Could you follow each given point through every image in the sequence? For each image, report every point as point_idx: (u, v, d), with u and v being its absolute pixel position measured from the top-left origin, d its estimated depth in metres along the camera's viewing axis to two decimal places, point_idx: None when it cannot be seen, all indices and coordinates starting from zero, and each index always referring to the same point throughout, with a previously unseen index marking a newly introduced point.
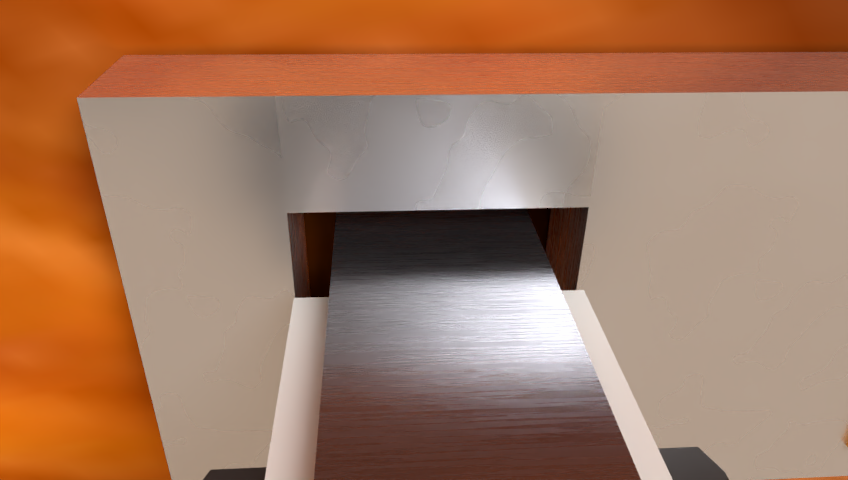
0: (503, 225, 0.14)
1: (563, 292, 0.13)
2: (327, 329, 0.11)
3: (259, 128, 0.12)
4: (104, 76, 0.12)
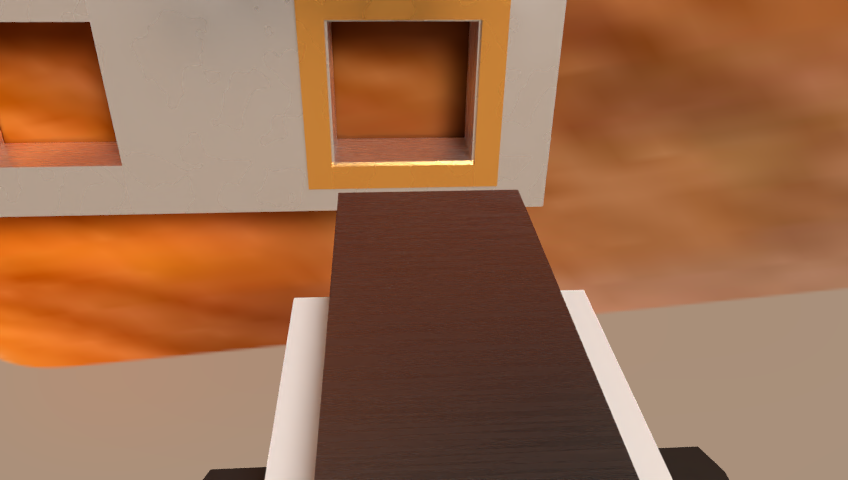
0: (504, 227, 0.14)
1: (563, 292, 0.13)
2: (327, 332, 0.11)
3: None
4: None
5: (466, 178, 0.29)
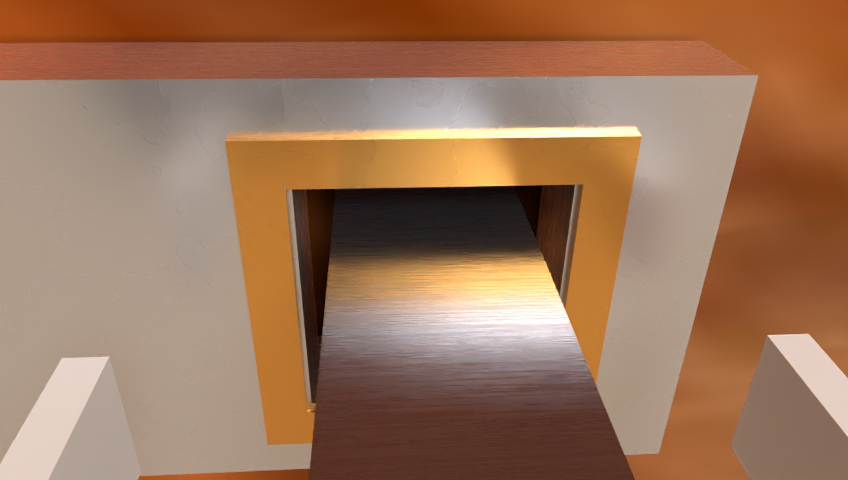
0: (493, 203, 0.15)
1: (788, 336, 0.12)
2: (327, 294, 0.12)
3: None
4: None
5: None
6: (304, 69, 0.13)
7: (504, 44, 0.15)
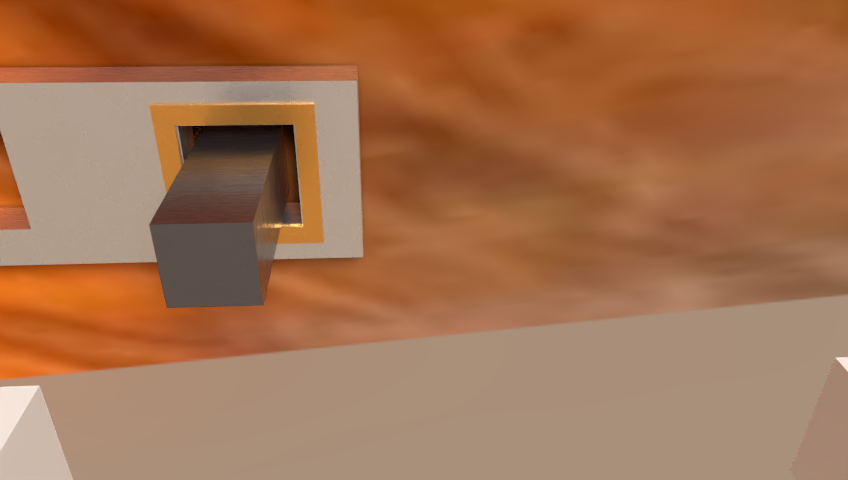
0: (267, 134, 0.35)
1: None
2: (184, 161, 0.32)
3: None
4: None
5: (298, 237, 0.37)
6: (180, 78, 0.33)
7: (269, 67, 0.35)
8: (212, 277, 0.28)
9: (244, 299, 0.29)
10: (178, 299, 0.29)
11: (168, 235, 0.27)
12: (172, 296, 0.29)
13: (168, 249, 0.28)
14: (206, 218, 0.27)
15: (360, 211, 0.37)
